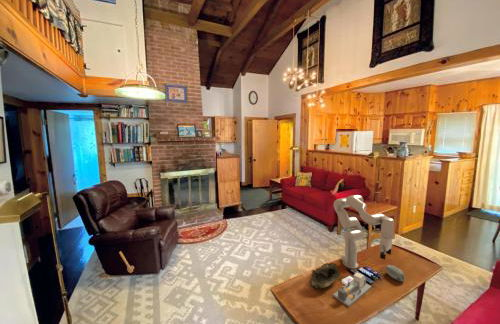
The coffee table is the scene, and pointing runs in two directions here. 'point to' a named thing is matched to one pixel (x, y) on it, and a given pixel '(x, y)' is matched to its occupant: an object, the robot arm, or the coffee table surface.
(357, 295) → the grey support base
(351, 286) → the pale green crossbeam
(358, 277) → the sleeve
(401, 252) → the coffee table surface
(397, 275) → the streaked grey egg
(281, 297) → the coffee table surface
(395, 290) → the coffee table surface
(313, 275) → the hollow geode rock
